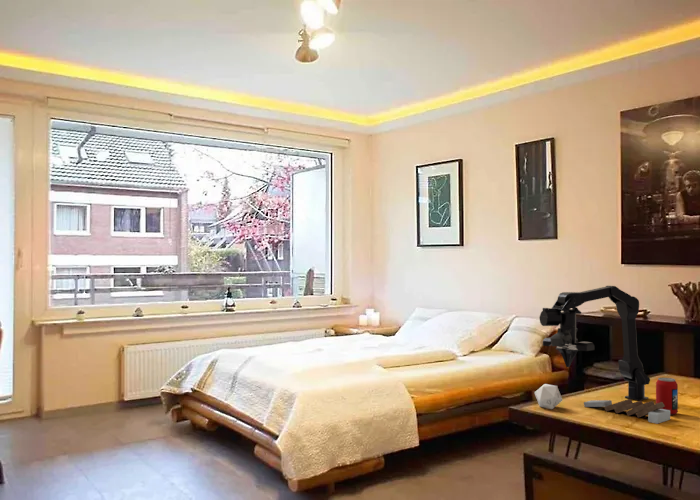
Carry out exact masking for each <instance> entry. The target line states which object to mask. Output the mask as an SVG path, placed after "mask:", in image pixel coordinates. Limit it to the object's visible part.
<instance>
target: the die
mask: <svg viewBox="0 0 700 500" xmlns="http://www.w3.org/2000/svg"><path fill="white" fill-rule="evenodd" d="M558 387H559V386H558V385H553V384H548V383H544V384H543V385H542V386H540V387H539V388H538V389H537V390H536V391H533V392H534V396H535V398H536V401H537V403H538V405H539V407H541V408H544V409H547V410H553V409H554V408H556V407H557V406H558V405H559V404H560V403H561V402H563V398H562V395H561V393H560V391H559V390H560V389H559V388H558Z"/></svg>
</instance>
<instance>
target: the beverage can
mask: <svg viewBox="0 0 700 500" xmlns="http://www.w3.org/2000/svg"><path fill="white" fill-rule="evenodd" d="M678 387H679V386H678V383H677V381H676V379H675V378H672V377H658V378H657V380H656V382H655V404H657V403H660V402H663V404H664V405H665V407H663V408H661V409H665V410H670V416H674V415H676V414H678V413H679V410H678V409H679V407H678V406H679V405H678V404H679V396H678V395H679V394H678V393H679V392H678V391H679V389H678ZM658 410H659V409H658Z"/></svg>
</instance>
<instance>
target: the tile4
mask: <svg viewBox="0 0 700 500" xmlns="http://www.w3.org/2000/svg"><path fill="white" fill-rule="evenodd" d="M663 407H665V405H664V404H663V402H660V403H657V404H656V403H654V405H652V406H650V407H648V408H646V409H644V410H642V411H640V412H638V413H636V414H635V415H636V417H637V419H640V418H644V417H646V416H648V413H649V412H652V411H655V410H658V409H661V408H663Z"/></svg>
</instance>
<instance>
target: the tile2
mask: <svg viewBox="0 0 700 500" xmlns="http://www.w3.org/2000/svg"><path fill="white" fill-rule="evenodd" d="M642 404H644V403H643V400H641V401H640V400H637V401H635V402H633V403H631V404H628V405H625V406H622V407H619V408H616V409H613V410H614V412H615V414H618V413H622V412H626V411H628V410H631V409H633V408H635V407H637V406H640V405H642Z"/></svg>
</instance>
